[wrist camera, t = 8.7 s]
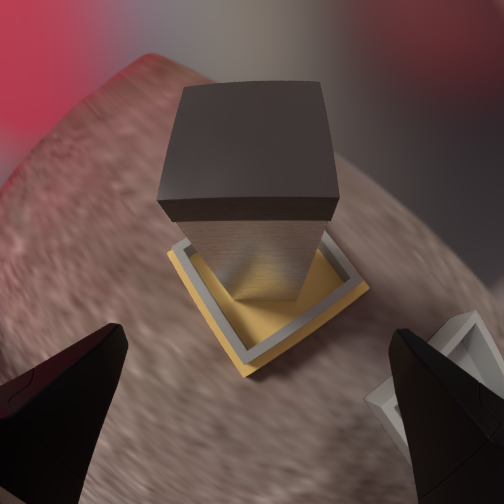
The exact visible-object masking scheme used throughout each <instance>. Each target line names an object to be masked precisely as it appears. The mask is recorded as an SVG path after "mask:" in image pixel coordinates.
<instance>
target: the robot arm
mask: <svg viewBox="0 0 504 504" xmlns="http://www.w3.org/2000/svg"><path fill="white" fill-rule="evenodd" d="M127 350H128V341H127V338H126V335H125V332H124V330H123V327H122V325H121V324H117V323H109V324H107V325H106V326H104V327H102V328H100V329H99V330H97V331H95V332H94V333H92V334H90V335H88V336H87V337H85V338H83V339H82V340H80V341H78V342H77V343H75V344H73V345H71V346H70V347H68V348H66V349H65V350H63V351H61V352H59V353H58V354H56V355H54V356H53V357H51V358H49V359H48V360H46V361H44V362H43V363H41V364H39V365H37V366H36V367H35V368H32V369H31V370H29V371H27V372H26V373H24V374H22V375H20V376H19V377H17V378H15V379H13V380H11V381H9V382H7V383H5V384H3V385H1V386H0V504H78V502H79V498H80V495H81V491H82V488H83V485H84V481H85V477H86V474H87V471H88V467H89V464H90V461H91V458H92V455H93V452H94V449H95V446H96V443H97V440H98V437H99V434H100V431H101V428H102V426H103V423H104V420H105V417H106V415H107V412H108V409H109V406H110V404H111V401H112V398H113V396H114V393H115V391H116V388H117V385H118V382H119V379H120V375H121V371H122V368H123V364H124V361H125V357H126V354H127ZM389 359H390V365H391V371H392V377H393V383H394V389H395V394H396V399H397V402H398V406H399V410H400V414H401V418H402V422H403V426H404V430H405V435H406V439H407V443H408V448H409V453H410V458H411V463H412V468H413V473H414V479H415V484H416V490H417V497H418V504H504V399H503V398H501V397H500V396H498V395H497V394H495V393H494V392H493V391H491V390H490V389H489V388H487V387H486V386H485V385H483V384H482V383H481V382H480V383H479V381H478V380H477V379H475V378H474V377H473V376H471V375H470V374H469V373H467V372H466V371H465V370H463V369H462V368H461V367H459V366H458V365H457V364H455V363H454V362H453V361H451V360H450V359H449V358H447V357H446V356H445V355H443V354H442V353H441V352H439V351H438V350H436V349H435V348H434V347H432V346H431V345H430V344H428V343H427V342H425V341H424V340H423V339H421V338H420V337H419V336H417V335H416V334H414V333H413V332H412V331H410V330H409V329H407V328H403V329H396V330H395V331H394V334H393V337H392V340H391V343H390V346H389Z"/></svg>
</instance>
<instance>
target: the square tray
mask: <svg viewBox="0 0 504 504" xmlns="http://www.w3.org/2000/svg"><path fill="white" fill-rule="evenodd" d="M171 248H172V250H171V251H169V252H168V253H167V254H168V256H169V258H170V260H171V262H172V263H173V265H174V267H175V269H176V270H177V272H178V274H179V276H180V277H181V279H182V281H183V283H184V284H185V286H186V288H187V289H188V291H189V293H190V294H191V296H192V298H193V299H194V301H195V303H196V304H197V306H198V308H199V309H200V311H201V313H202V314H203V316H204V318H205V319H206V321H207V322H208V324H209V326H210V327H211V329H212V330H213V332H214V334H215V335H216V337H217V338H218V340H219V341H220V343H221V345H222V346H223V348H224V349H225V351H226V352H227V354H228V355H229V357H230V358H231V360H232V361H233V363H234V364H235V366H236V367H237V369H238V370H239V372H240V373H241V375H242V376H243V378H245V377H246V376H248V375H249V374H251V373H253V372H254V371H256V370H257V369H259V368H260V367H262V366H264V365H265V364H267V363H268V362H270V361H271V360H273V359H274V358H276V357H277V356H279V355H280V354H282V353H283V352H285V351H286V350H288V349H289V348H291V347H292V346H294V345H295V344H296V343H298V342H299V341H301V340H302V339H304V338H305V337H306V336H308V335H309V334H311V333H312V332H313V331H315V330H316V329H318V328H319V327H320V326H322V325H323V324H324V323H326V322H327V321H329V320H330V319H331V318H333V317H334V316H335V315H337V314H338V313H339V312H340V311H342V310H343V309H344V308H346V307H347V306H348V305H350V304H351V303H352V302H353V301H355V300H356V299H357V298H358V297H360V296H361V295H362V294H363V293H365V292H366V291H367V290H368V289H370V288H369V286H368V285H367V284H366V282H365V281H364V280H363V278H362V277H361V276H360V274H359V273H358V272H357V270H356V269H355V268H354V266H353V265H352V264H351V263H350V261H349V260H348V259H347V257H346V256H345V255H344V253H343V252H342V251H341V250H340V248H339V247H338V246H337V245H336V243H335V242H334V241H333V240H332V238H331V237H330V236H329V235H328V233H327V232H326V231H325V230H324V233H323V236H322V238H321V241H320V244H319V246H318V249H317V251H316V254H315V256H314V259H313V262H312V264H311V267H310V269H309V272H308V274H307V277H306V279H305V281H304V284H303V286H302V289H301V291H300V294H299V296H298V298H297V301H234V300H233V299H232V298H231V296H230V295H229V294H228V292H227V291H226V290H225V288H224V287H223V286H222V284H221V283H220V282H219V280H218V279H217V278H216V276H215V275H214V274H213V272H212V271H211V270H210V268H209V267H208V266H207V264H206V263H205V262H204V260H203V259H202V258H201V256H200V255H199V254H198V252H197V251H196V249H195V248H194V247H193V245H192V244H191V243H190V241H189V240H188V238H187V237H186V238H184V239H183V240H181V241H180V242H178V243H177V244H175V245H174V246H172V247H171Z"/></svg>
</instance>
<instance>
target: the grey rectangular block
mask: <svg viewBox="0 0 504 504" xmlns="http://www.w3.org/2000/svg"><path fill="white" fill-rule="evenodd" d="M339 198H340V196H339V188H338V181H337V173H336V167H335V160H334V154H333V147H332V142H331V136H330V130H329V125H328V120H327V114H326V109H325V104H324V99H323V95H322V90H321V85H320V82H310V81H247V82H231V83H217V84H207V85H197V86H189V87H184V90H183V93H182V97H181V100H180V103H179V107H178V111H177V114H176V118H175V122H174V125H173V129H172V133H171V137H170V141H169V145H168V149H167V154H166V158H165V162H164V167H163V171H162V176H161V181H160V186H159V191H158V196H157V201H158V203H159V204H160V206H161V207H162V208H163V210H164V211H165V212H166V214H167V215H168V217H169V218H170V219H171V221H172V222H176V223H177V225H178V226H179V227H180V229H181V230H182V232H183V233H184V234H185V236H186V237H187V238H188V240H189V241H190V243H191V244H192V245H193V247H194V248H195V249H196V251H197V252H198V254H199V255H200V256H201V258H202V259H203V260H204V262H205V263H206V264H207V266H208V267H209V268H210V270H211V271H212V272H213V274H214V275H215V276H216V278H217V279H218V280H219V282H220V283H221V284H222V286H223V287H224V288H225V290H226V291H227V292H228V294H229V295H230V296H231V298H232V299H233V300H234V301H297V298H298V296H299V294H300V291H301V289H302V286H303V284H304V281H305V279H306V277H307V274H308V272H309V269H310V267H311V264H312V262H313V259H314V256H315V254H316V251H317V249H318V246H319V244H320V241H321V238H322V236H323V233H324V230H325V228H326V225H327V222H328V221H331V219H332V216H333V214H334V211H335V209H336V206H337V203H338V201H339Z"/></svg>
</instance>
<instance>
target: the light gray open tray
mask: <svg viewBox="0 0 504 504" xmlns="http://www.w3.org/2000/svg"><path fill="white" fill-rule="evenodd" d="M427 343H428V344H430V345H431V346H432V347H434V348H435V349H436V350H438V351H439V352H441V353H442V354H443V355H445V356H446V357H447V358H449V359H450V360H451V361H453V362H454V363H455V364H457V365H458V366H459V367H461V368H462V369H463V370H465V371H466V372H467V373H469V374H470V375H471V376H473V377H474V378H475V379H477V380H478V381H479V383H480V382H481V383H482V384H483V385H485V386H486V387H487V388H489V389H490V390H491V391H493V392H494V393H495V394H497V395H498V396H500V397H501V398H503V399H504V360H503V358H502V356H501V354H500V352H499V350H498V348H497V346H496V345H495V343H494V341H493V339H492V337H491V335H490V333H489V331H488V330H487V328H486V326H485V324H484V323H483V321H482V319H481V317H480V316H479V314H478V312H477V311H476V310H474V311H471V312H467V313H464V314H461V315H457V316H454V317H451V318H449V319H448V321H447V322H446V323H445V324H444V325H443V326H442V327H441V328H440V329H439V330H438V331H437V332H436V333H435V334H434V336H433V337H432V338H431V339H430V340H429V341H428V342H427ZM364 400H365V402H366V403H367V405H368V406H369V408H370V409H371V410H372V412H373V413H374V415H375V416H376V418H377V419H378V420H379V422H380V423H381V425H382V426H383V427H384V429H385V430H386V432H387V433H388V435H389V436H390V437H391V439H392V440H393V442H394V443H395V445H396V446H397V447H398V449H399V450H400V452H401V453H402V455H403V456H404V457H405V459H406V460H407V462H408V463H409V465H410V466H411V467H412V463H411V458H410V453H409V448H408V443H407V439H406V435H405V430H404V426H403V422H402V418H401V414H400V410H399V406H398V402H397V399H396V394H395V389H394V383H393V377H392V375H391V376H390V377H389V378H388V379H387V380H386V381H384V382H383V383H382V384H381V385H380V386H378V387H377V388H376V389H375V390H374V391H372V392H371V393H370V394H369V395H367V396H366V397H365V398H364ZM412 469H413V468H412Z"/></svg>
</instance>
